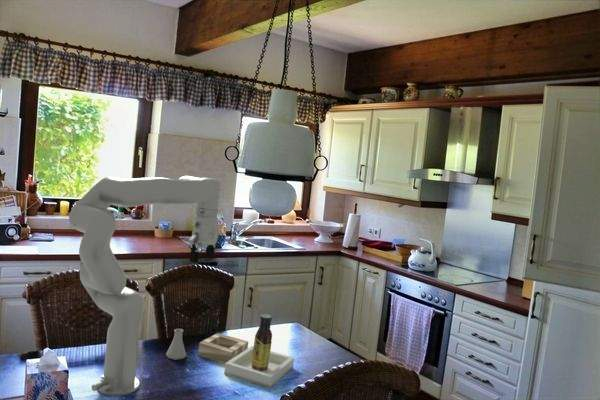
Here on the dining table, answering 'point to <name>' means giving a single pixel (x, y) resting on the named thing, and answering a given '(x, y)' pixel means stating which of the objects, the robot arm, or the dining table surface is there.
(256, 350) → the sauce bottle
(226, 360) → the shallow rimmed box
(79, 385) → the dining table surface
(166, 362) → the dining table surface
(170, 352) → the flask
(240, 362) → the tray
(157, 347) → the dining table surface
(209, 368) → the dining table surface
